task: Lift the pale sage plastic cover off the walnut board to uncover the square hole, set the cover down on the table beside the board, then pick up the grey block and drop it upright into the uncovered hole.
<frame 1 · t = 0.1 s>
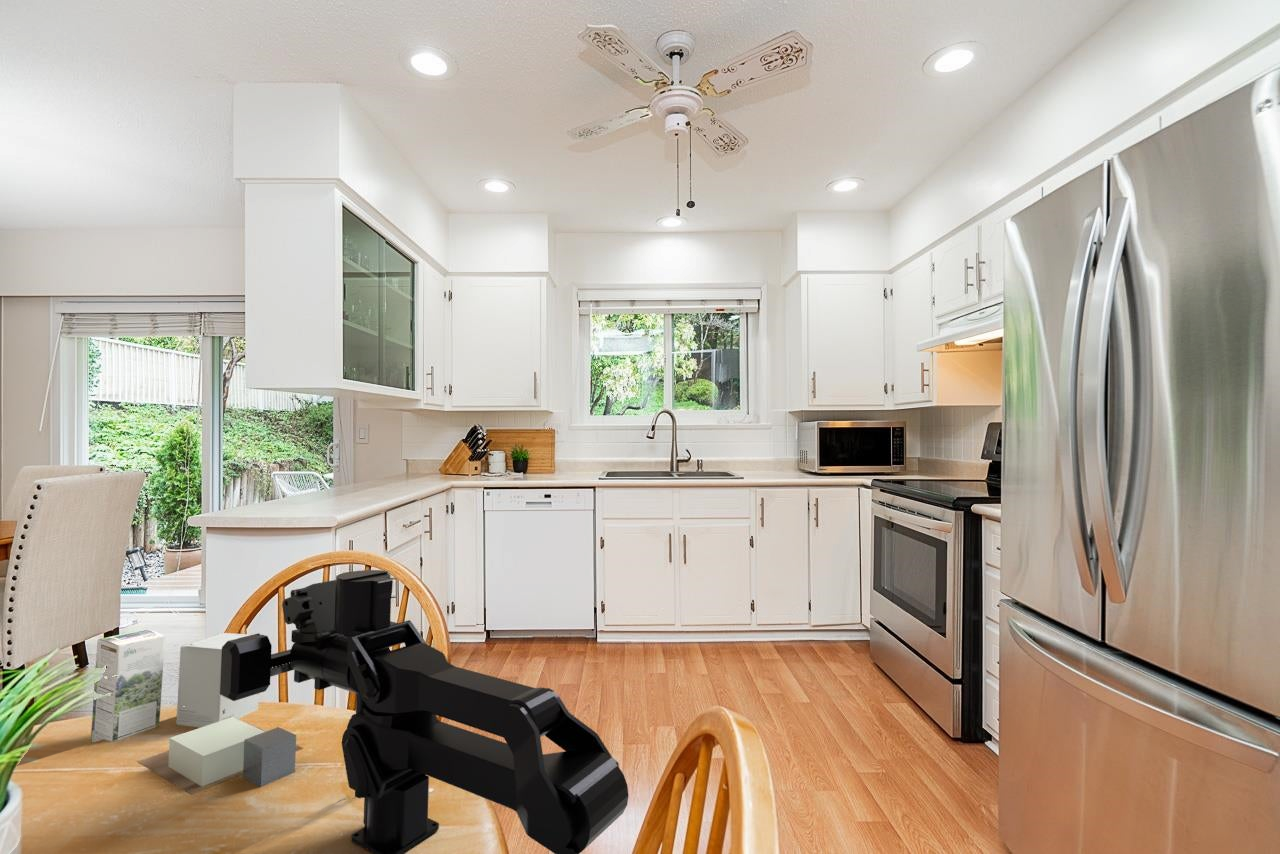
hand: (271, 638, 79), 17 cm above the table, tool horizontal, fingers open, 9 cm apart
sage cover: (217, 763, 76), point 1 cm above the table, touching walnut board
walnut board: (222, 766, 79), on the table
grey block: (268, 787, 74), on the table
supplement box: (218, 727, 90), on the table
syrup box: (125, 741, 85), on the table
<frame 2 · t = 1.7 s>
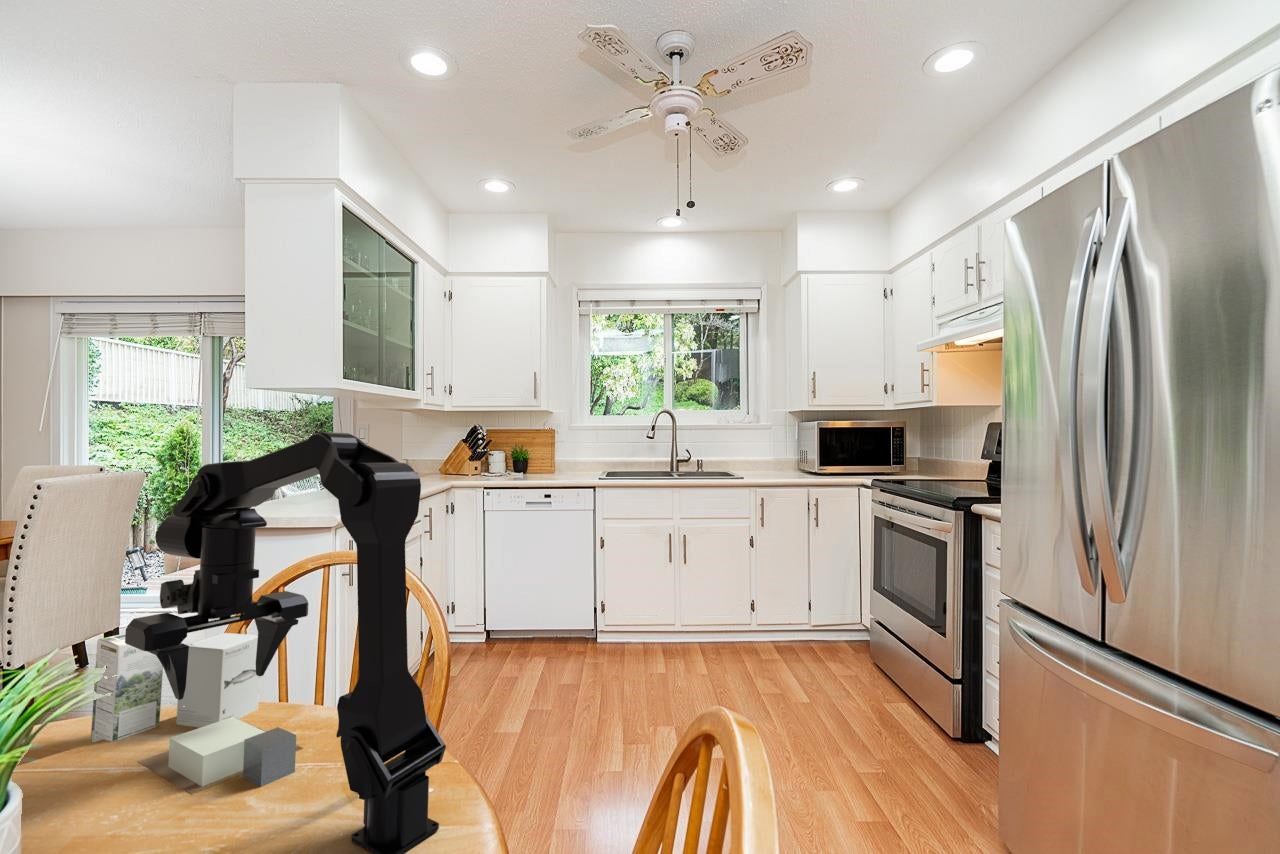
hand: (221, 686, 77), 11 cm above the table, tool pointing down, fingers open, 9 cm apart
nothing on the table moved.
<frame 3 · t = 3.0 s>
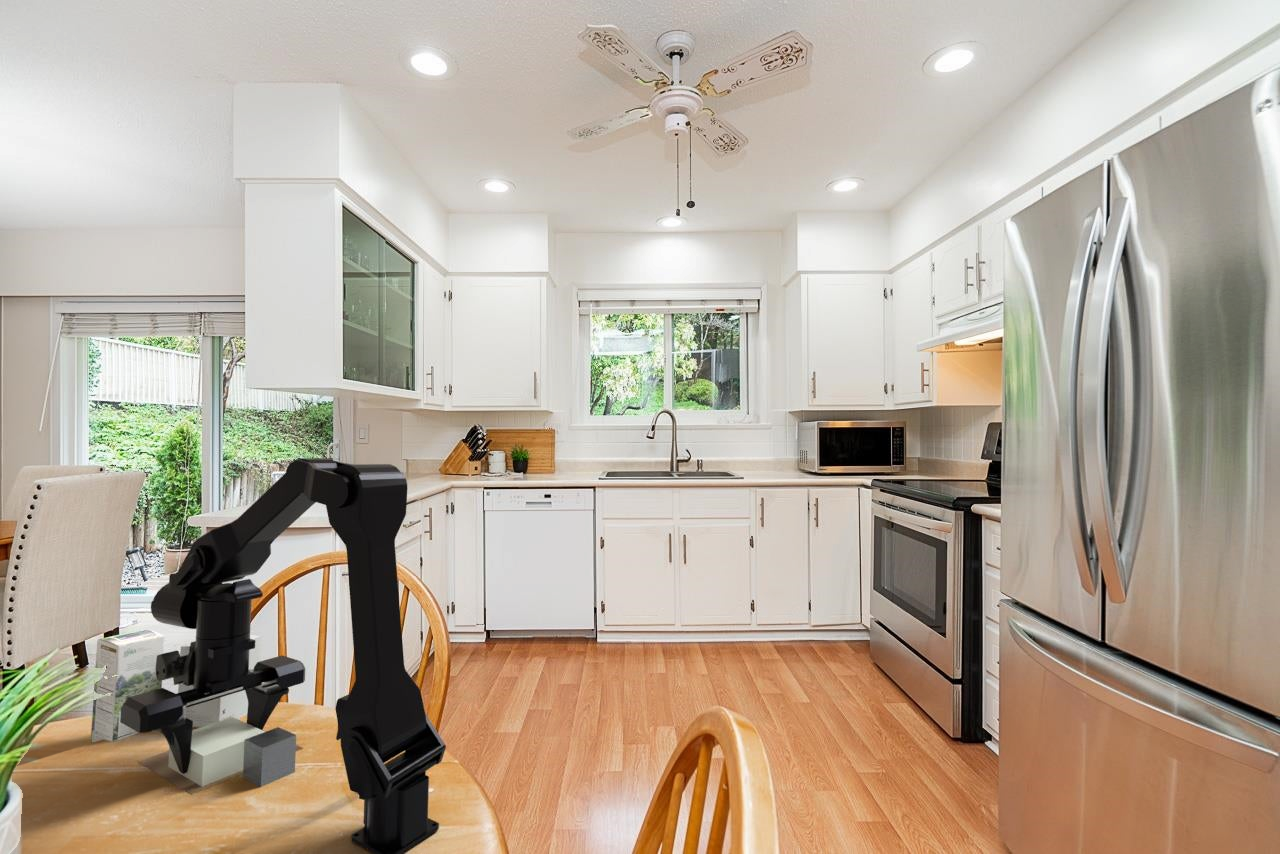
hand: (218, 759, 76), 2 cm above the table, tool pointing down, fingers closed on sage cover, 7 cm apart
sage cover: (217, 763, 76), point 1 cm above the table, touching gripper, walnut board
everything else where it was.
when the fingers open (2 cm above the table, at t = 7.1 s): sage cover drops 2 cm, on the table.
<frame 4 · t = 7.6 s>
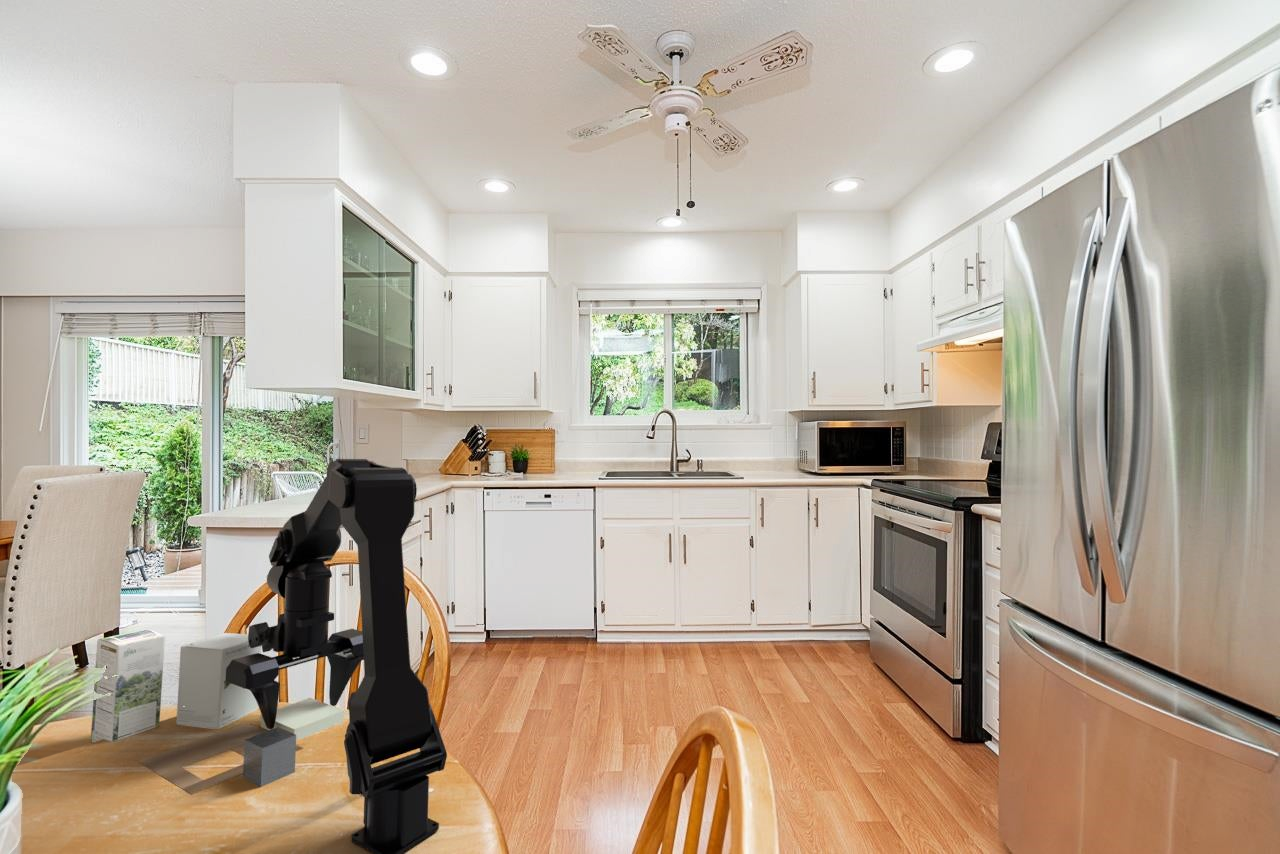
hand: (302, 716, 88), 3 cm above the table, tool pointing down, fingers open, 9 cm apart
sage cover: (302, 737, 88), on the table
everything else where it was.
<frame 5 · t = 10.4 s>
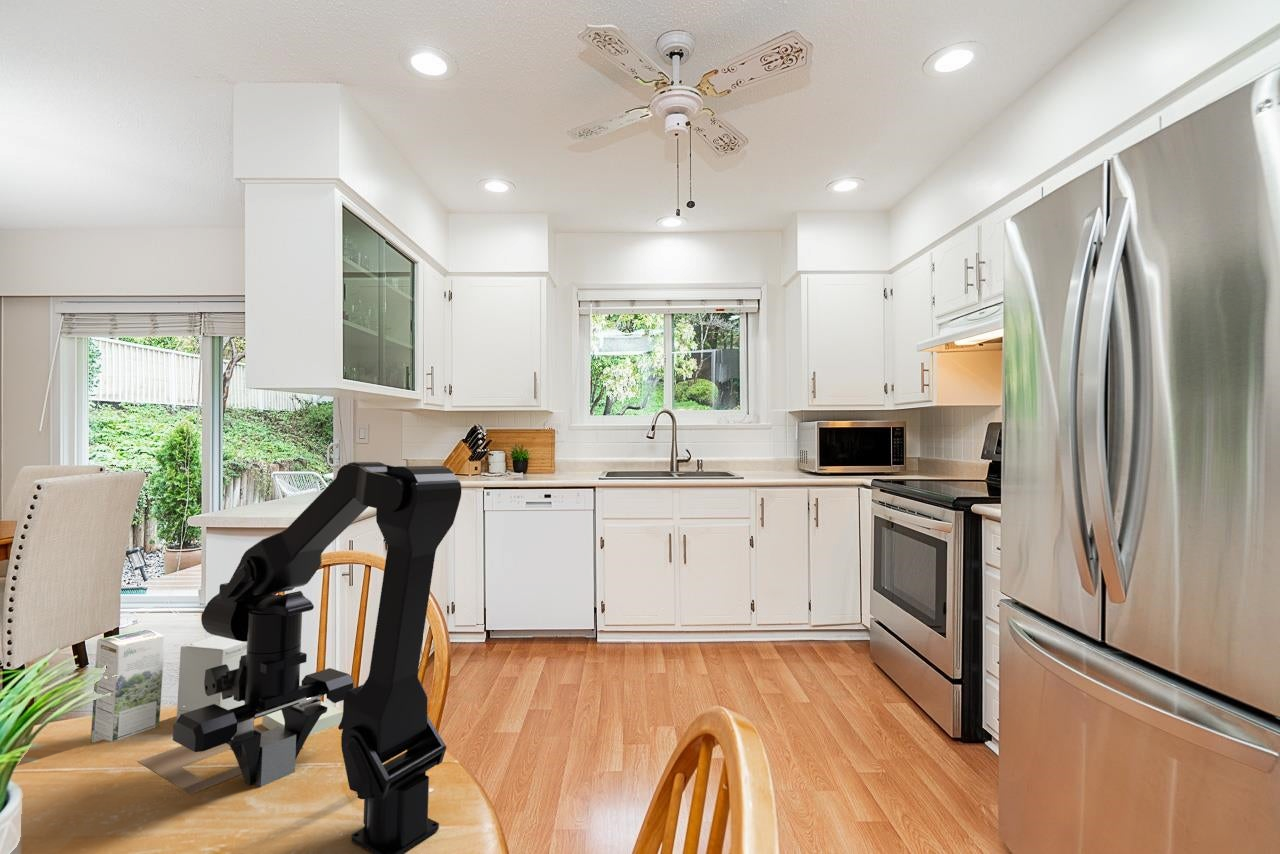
hand: (269, 776, 74), 1 cm above the table, tool pointing down, fingers closed on grey block, 4 cm apart
grey block: (268, 787, 74), on the table, touching gripper
everything else where it was.
when the fingers open (2 cm above the table, at t = 14.6 s): grey block drops 1 cm, resting in walnut board.
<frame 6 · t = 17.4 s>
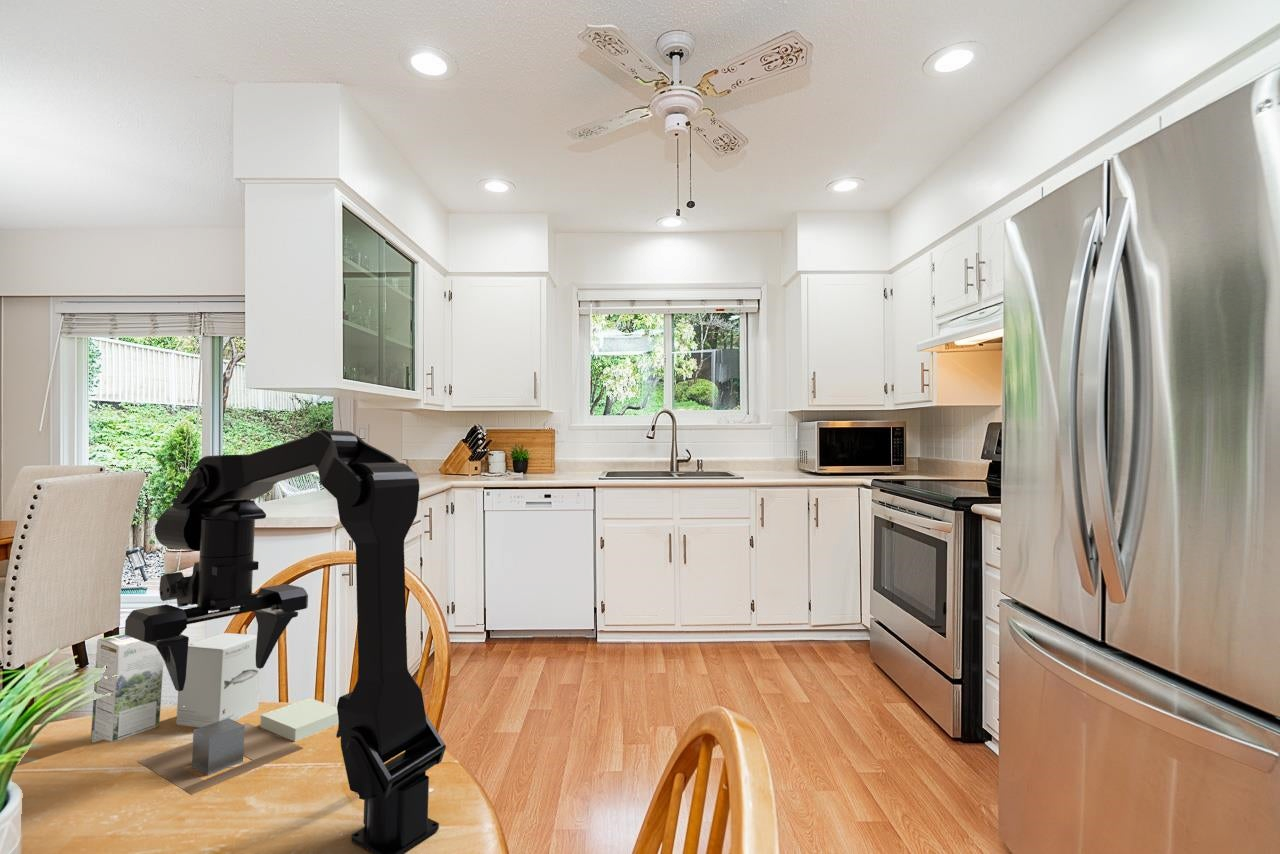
hand: (221, 678, 77), 12 cm above the table, tool pointing down, fingers open, 9 cm apart
grey block: (217, 776, 76), resting in walnut board
everything else where it was.
at the end: grey block 0.0 cm from the target spot, resting in walnut board; grey block tilted 0°; sage cover moved 12.3 cm from its start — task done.
